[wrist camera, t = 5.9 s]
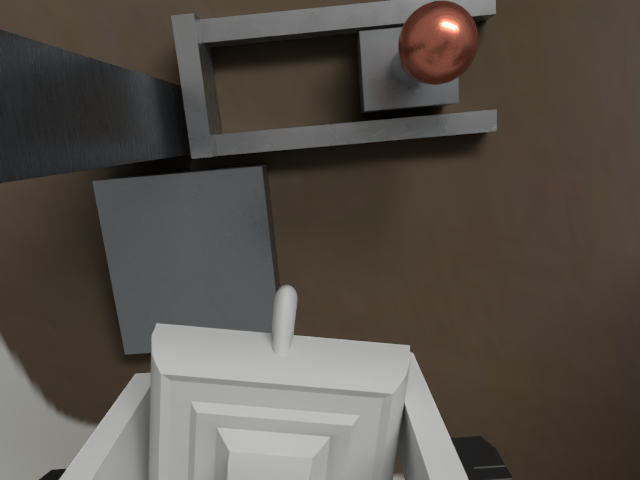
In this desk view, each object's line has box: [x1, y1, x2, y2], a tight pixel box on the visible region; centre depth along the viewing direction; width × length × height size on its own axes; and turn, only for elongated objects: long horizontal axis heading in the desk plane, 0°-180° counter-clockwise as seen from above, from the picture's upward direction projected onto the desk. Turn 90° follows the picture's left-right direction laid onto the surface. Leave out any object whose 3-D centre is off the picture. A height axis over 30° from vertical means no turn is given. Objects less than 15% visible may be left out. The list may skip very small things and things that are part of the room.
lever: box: [357, 1, 478, 113], centre depth 23 cm, size 5×4×11 cm
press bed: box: [0, 30, 280, 355], centre depth 20 cm, size 10×16×22 cm, turn 5°
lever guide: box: [171, 0, 497, 159], centre depth 27 cm, size 17×7×3 cm, turn 95°
